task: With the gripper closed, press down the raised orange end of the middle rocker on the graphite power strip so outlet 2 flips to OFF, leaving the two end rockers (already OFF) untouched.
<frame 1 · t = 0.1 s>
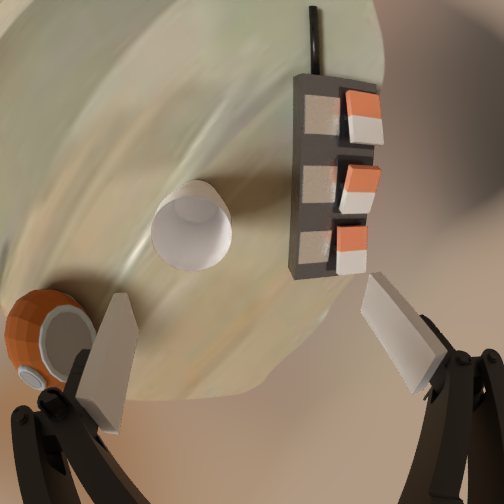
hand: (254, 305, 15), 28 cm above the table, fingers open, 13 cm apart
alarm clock: (63, 314, 46), on the table
rocker 3: (352, 249, 40), point 6 cm above the table, hinge at -15.0°
power strip: (326, 177, 41), on the table
rocker 1: (365, 118, 31), point 6 cm above the table, hinge at -15.0°
rocker 2: (360, 190, 36), point 6 cm above the table, hinge at 15.0°
cup: (196, 201, 40), on the table
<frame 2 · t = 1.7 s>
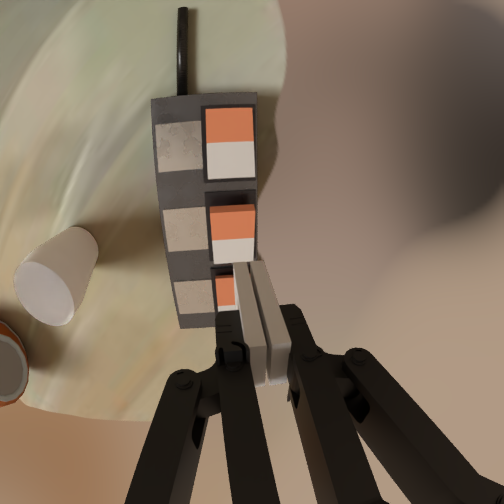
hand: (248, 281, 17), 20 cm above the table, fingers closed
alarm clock: (4, 338, 41), on the table
rocker 3: (235, 302, 35), point 6 cm above the table, hinge at -15.0°
power strip: (209, 215, 36), on the table
rocker 1: (229, 142, 26), point 6 cm above the table, hinge at -15.0°
rocker 2: (232, 235, 31), point 6 cm above the table, hinge at 15.0°
cup: (79, 246, 35), on the table
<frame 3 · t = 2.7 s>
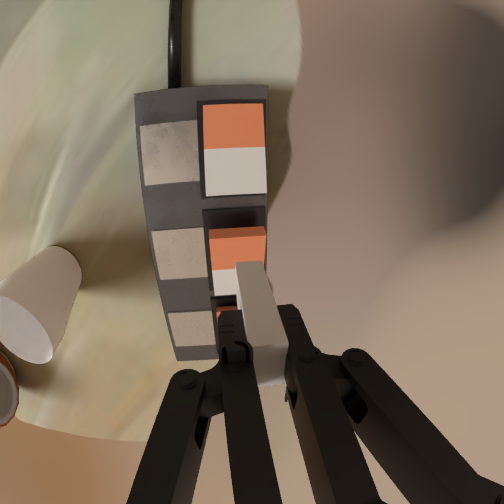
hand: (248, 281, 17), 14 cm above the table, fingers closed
rocker 3: (240, 337, 29), point 6 cm above the table, hinge at -15.0°
power strip: (208, 234, 30), on the table
rocker 1: (234, 148, 20), point 6 cm above the table, hinge at -15.0°
rocker 2: (237, 263, 25), point 6 cm above the table, hinge at 15.0°
cup: (60, 268, 29), on the table
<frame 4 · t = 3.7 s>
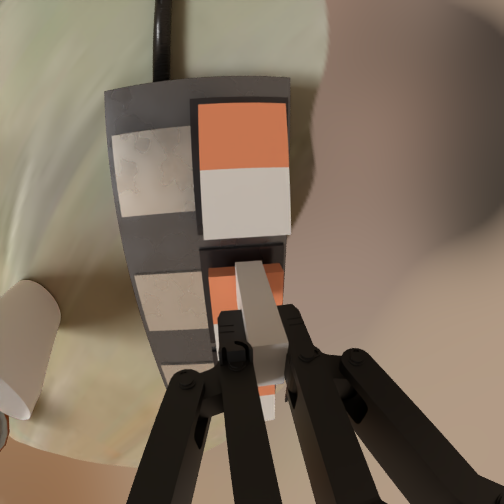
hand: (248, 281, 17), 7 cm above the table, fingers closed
rocker 3: (248, 393, 23), point 6 cm above the table, hinge at -15.0°
power strip: (208, 271, 24), on the table
rocker 1: (244, 169, 14), point 6 cm above the table, hinge at -15.0°
rocker 2: (246, 316, 19), point 6 cm above the table, hinge at -3.8°, touching gripper
cup: (37, 304, 23), on the table
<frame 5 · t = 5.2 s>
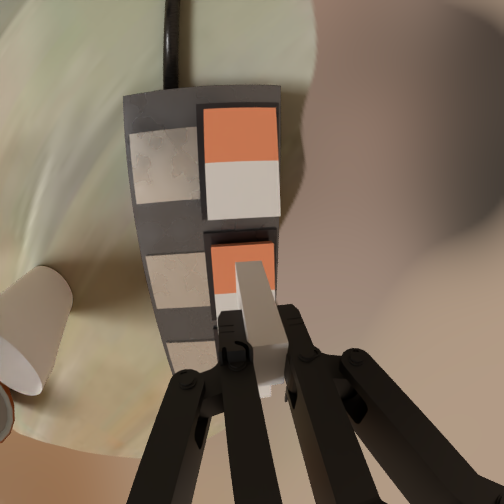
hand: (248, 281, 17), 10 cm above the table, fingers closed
rocker 3: (246, 369, 26), point 6 cm above the table, hinge at -15.0°
power strip: (211, 256, 27), on the table
rocker 1: (241, 162, 17), point 6 cm above the table, hinge at -15.0°
rocker 2: (244, 289, 21), point 6 cm above the table, hinge at -16.1°
cup: (50, 289, 26), on the table
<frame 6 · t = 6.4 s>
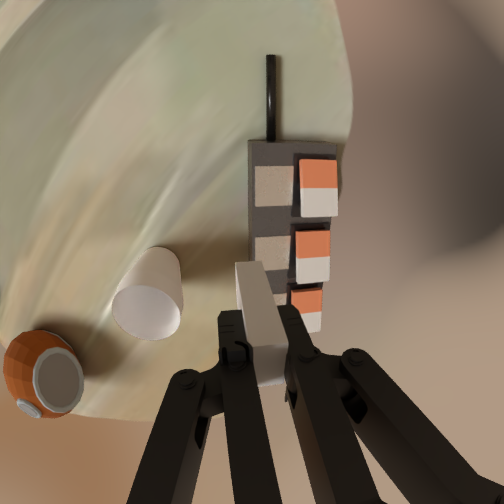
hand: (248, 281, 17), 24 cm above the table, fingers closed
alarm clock: (54, 349, 48), on the table
rocker 3: (306, 311, 42), point 6 cm above the table, hinge at -15.0°
power strip: (284, 240, 43), on the table
rocker 1: (319, 188, 33), point 6 cm above the table, hinge at -15.0°
rocker 2: (313, 256, 38), point 6 cm above the table, hinge at -16.1°
cup: (159, 264, 42), on the table
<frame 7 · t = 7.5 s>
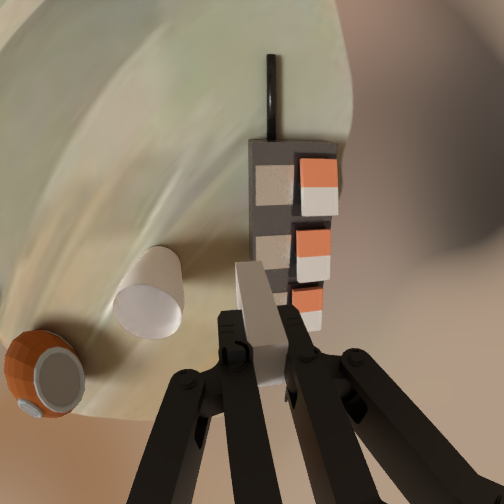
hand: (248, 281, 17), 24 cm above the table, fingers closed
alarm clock: (54, 349, 48), on the table
rocker 3: (307, 310, 42), point 6 cm above the table, hinge at -15.0°
power strip: (285, 239, 43), on the table
rocker 1: (319, 187, 34), point 6 cm above the table, hinge at -15.0°
rocker 2: (313, 255, 38), point 6 cm above the table, hinge at -16.1°
cup: (160, 264, 43), on the table
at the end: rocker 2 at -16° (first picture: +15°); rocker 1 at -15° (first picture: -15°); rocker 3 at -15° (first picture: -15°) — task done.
